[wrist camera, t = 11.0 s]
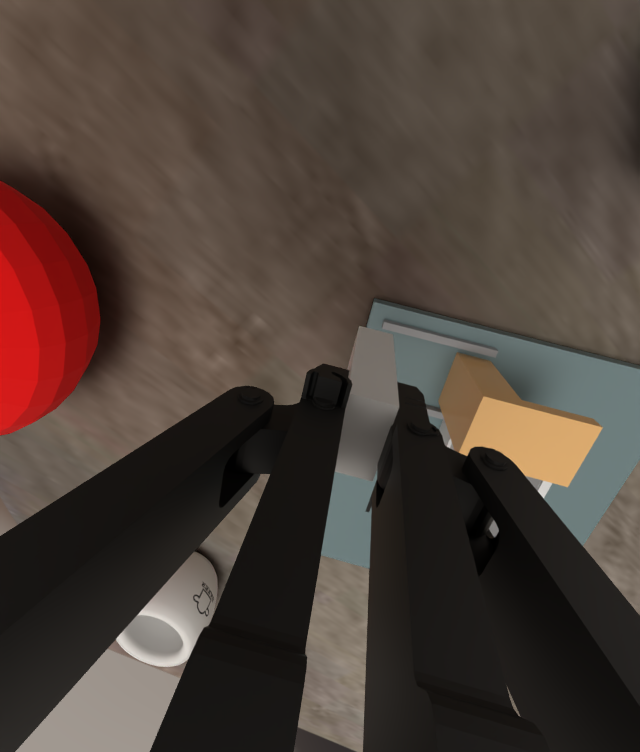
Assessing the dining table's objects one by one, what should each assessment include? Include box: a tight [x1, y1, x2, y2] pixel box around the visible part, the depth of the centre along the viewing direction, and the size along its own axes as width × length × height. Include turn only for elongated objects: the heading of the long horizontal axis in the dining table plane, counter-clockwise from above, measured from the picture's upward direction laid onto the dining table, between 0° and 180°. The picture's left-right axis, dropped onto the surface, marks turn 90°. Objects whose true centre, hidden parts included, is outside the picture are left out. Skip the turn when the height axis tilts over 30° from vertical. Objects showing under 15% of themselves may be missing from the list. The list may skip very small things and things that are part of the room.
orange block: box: [438, 352, 603, 487], centre depth 25 cm, size 4×6×8 cm, turn 77°
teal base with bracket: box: [321, 298, 640, 569], centre depth 29 cm, size 24×22×9 cm
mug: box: [116, 551, 218, 667], centre depth 38 cm, size 12×8×8 cm
